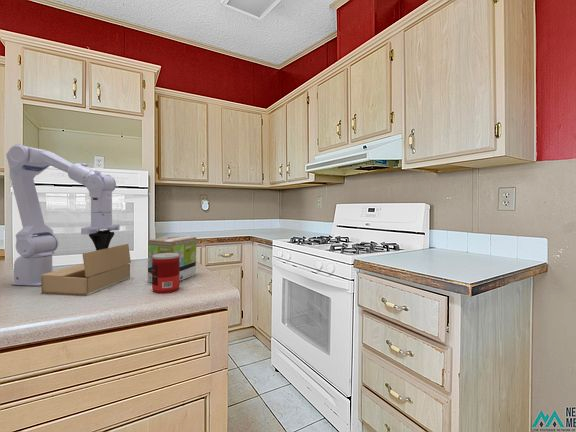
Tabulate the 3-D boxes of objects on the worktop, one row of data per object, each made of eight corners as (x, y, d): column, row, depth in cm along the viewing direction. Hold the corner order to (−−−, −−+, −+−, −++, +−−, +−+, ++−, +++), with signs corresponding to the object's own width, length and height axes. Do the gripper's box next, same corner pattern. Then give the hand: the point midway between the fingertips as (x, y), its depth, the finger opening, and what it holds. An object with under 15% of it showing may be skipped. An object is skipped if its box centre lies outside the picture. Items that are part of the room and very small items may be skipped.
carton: (41, 293, 85) (41, 274, 85) (92, 276, 105) (92, 261, 105) (86, 295, 84) (86, 276, 84) (129, 278, 104) (129, 262, 103)
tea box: (173, 285, 96) (173, 240, 96) (146, 283, 98) (146, 239, 98) (196, 274, 111) (197, 236, 110) (172, 272, 113) (173, 234, 112)
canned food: (184, 287, 94) (184, 253, 93) (166, 294, 86) (166, 258, 86) (165, 285, 96) (165, 251, 96) (146, 291, 89) (146, 255, 88)
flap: (82, 253, 83) (85, 253, 83) (126, 244, 103) (128, 243, 103) (85, 277, 84) (88, 276, 84) (128, 263, 103) (130, 262, 103)
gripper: (96, 213, 85) (97, 259, 86) (127, 211, 100) (128, 251, 100) (74, 212, 86) (74, 258, 87) (108, 211, 100) (108, 250, 101)
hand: (102, 254), depth 94 cm, fingers closed
